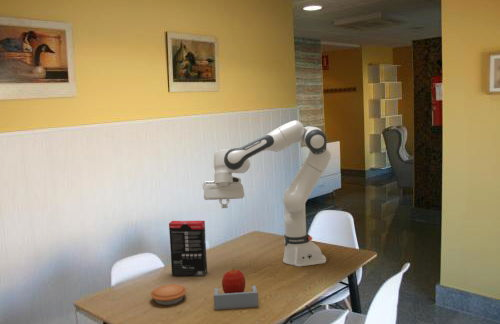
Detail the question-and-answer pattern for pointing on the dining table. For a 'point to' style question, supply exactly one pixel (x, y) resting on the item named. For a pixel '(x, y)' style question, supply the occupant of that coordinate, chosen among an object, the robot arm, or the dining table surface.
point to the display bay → (236, 299)
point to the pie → (168, 294)
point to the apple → (233, 282)
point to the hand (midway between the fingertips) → (224, 208)
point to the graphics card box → (188, 248)
